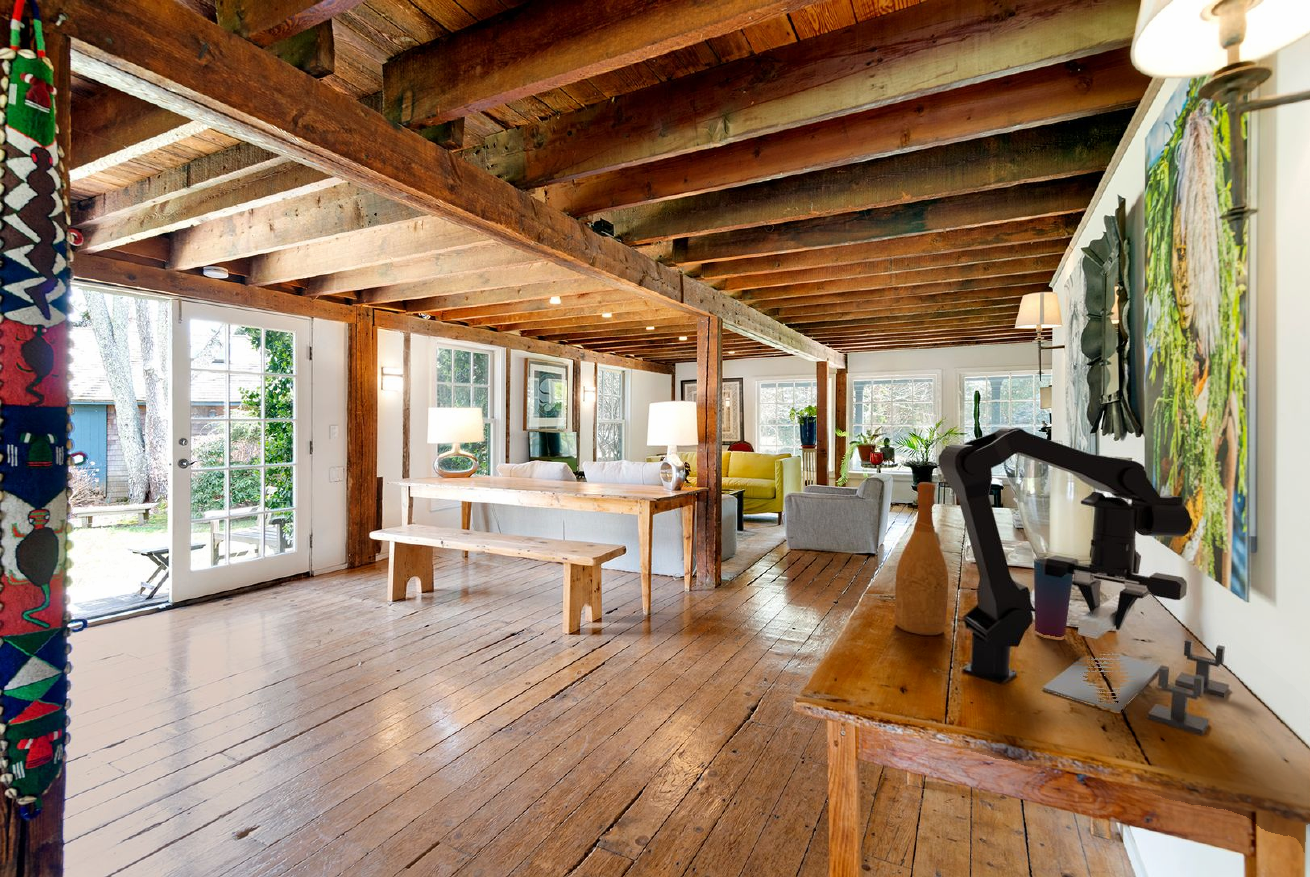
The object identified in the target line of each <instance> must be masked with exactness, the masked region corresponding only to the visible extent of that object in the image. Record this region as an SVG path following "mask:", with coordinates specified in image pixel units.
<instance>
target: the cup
mask: <svg viewBox="0 0 1310 877" xmlns="http://www.w3.org/2000/svg"><path fill="white" fill-rule="evenodd" d="M1047 558H1048V557H1043V558H1042V557H1039V558H1038V557H1037V558H1034V559H1033V580H1034V581H1033V586H1034V587H1033V588H1034V589H1033V590H1034V591H1033V592H1034V597H1033V598H1034V609H1035V610H1036V611H1035V612H1034V632H1035V631H1037V632H1039V633H1041V634H1043V635H1050V636H1055V637H1062V636H1064V635H1065V636H1066V630H1067V624H1068V622H1067V621H1068V617H1069V610H1070V609H1069V608H1070V607H1069V606H1070V601H1071V600H1070V599H1071V593H1072V586H1073V585H1072V581H1073V580H1074V574H1069V573H1068V574H1067V575H1066V576H1064V577H1062V578H1060V577H1055V576H1050V575H1045V574H1043V573H1042V570H1043V563H1044V560H1046V559H1047Z"/></svg>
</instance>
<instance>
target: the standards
mask: <svg viewBox="0 0 1310 877" xmlns="http://www.w3.org/2000/svg"><path fill="white" fill-rule="evenodd" d="M1183 649H1184V650H1183V656H1184V657H1186V660H1189V661H1193V662H1196V664H1195V665H1196V667H1195V675H1193V674H1189V673H1186V672H1183V671H1182V672H1180V673H1179V675H1178V676H1177V677H1176V678H1175V680H1174V685H1173V684H1169V673H1170V667H1169V666H1165V665H1162V666H1161V667H1160V668H1159V671H1158V680H1157V686H1158V687H1161V691H1163V692H1164V691H1165V692H1168V693H1171V705H1170V707H1169V706H1165V705H1162V704H1158V703H1155V704H1154V706H1153V707H1152V708H1151V710H1150V711H1149V712H1147V719H1148V720H1151V721H1154V722H1157V723H1160V724H1164V725H1167V726H1170V727H1172V728H1176V729H1180V730H1183V731H1186V732H1189V733H1191V734H1196V735H1198V736H1204V734H1205V732H1206V730H1207V728H1208V727H1209V725H1210V719H1209V718H1206V717H1202V716H1199V715H1195V714H1193V713H1192V714H1191V713H1189V712H1187V708H1188V699H1192V700H1198V699H1199V698H1201V697H1202V696H1203V695H1204V694H1209V695H1211V696H1212V695H1213V696H1216V697H1218V698H1223V699H1225V697H1226V695H1227V693H1228V691H1229V690H1230V689H1229V688H1230V684H1229V683H1224V682H1220V681H1217V680H1213V679H1210V674H1211V673H1210V672H1211V671H1210V669H1211V666H1213V667H1217V668H1219V667H1220V666H1221V665H1223V664H1224V663H1225V649H1226V647H1225V646H1224V645H1218V644H1217V646H1216V649H1215V659H1214V658H1209V657H1205V656H1201V655H1197V654H1193V653H1194V652H1193V650H1194V639H1192V638H1188V637H1187V638H1186V639H1184V646H1183Z"/></svg>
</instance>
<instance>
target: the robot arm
mask: <svg viewBox="0 0 1310 877" xmlns="http://www.w3.org/2000/svg"><path fill="white" fill-rule="evenodd" d="M1013 455H1018V456H1021V457H1024V458H1026V459H1029V460H1032V461H1035V462H1037V463H1041V464H1044V465H1047V466H1049V467H1052V468H1055V469H1059V470H1061V471H1064V472H1067V473H1070V474H1071V475H1073V476H1076V478H1077V479H1079V480H1080V481H1081V482H1083V483H1085V484H1087V485H1088V486H1090V487H1091V488H1094V489H1096V490H1097V491H1092V492H1091V494H1089V495H1088V496H1087V497H1085V498H1082V500H1080V504H1081V505H1084V506H1089V507H1093V509H1094V510H1093V524H1092V539H1090V550H1089V558H1090V563H1089V565H1084V564H1079V561H1078V560H1079V559H1078V558H1074V557H1066V556H1061V555H1057V554H1055V555H1053V556H1050V557H1046V558H1047V559H1046V560H1044V563H1043V570H1042V573H1043V574H1045V575H1050V576H1055V577H1060V578H1062V577H1064V576H1066V575H1067V574H1068V573H1069V574H1073V580H1072V586H1076V587H1077V588H1078V589H1079V591H1080V593H1081V595H1082V597H1083V598H1084V601H1085V602H1086V605H1087V607H1088V610H1089V612H1090V611H1092V610H1094V609H1095V608H1097V607H1099V606H1100V605H1101V597H1100V594H1101V592H1100V590H1101V586H1102V585H1101V584H1102V580H1103V581H1107V582H1113V583H1118V584H1123V585H1124V587H1125V588H1124V589H1122V590H1120V591H1119V594H1118V595H1119V602H1118V608H1117V615H1116V626H1115V630H1116V631H1119V630H1120V629H1121V628H1122V626H1123V624H1124V622H1125V620H1126V619H1127V618H1126V616H1127V614H1128V612H1129V610H1130V609H1131V607H1132V605H1133V604H1134V603H1135V604H1136V602H1137V600H1138V599H1144V598H1145V597H1147V596H1149V595H1150V594H1151V595H1152V596H1153V597H1158V598H1163V599H1169V600H1173V601H1180V600H1182V599H1183V598H1184V597H1186V596H1187V589H1188V582H1187V581H1186V579H1185V578H1184V577H1182V576H1178V575H1172V574H1166V573H1162V572H1155V573H1153V574H1151V575H1150V576H1145V575H1140V574H1139V573H1140V566H1141V560H1142V555H1141V554H1140V553H1139V552H1138V551H1137V550H1136V536H1137V534H1138V535H1140V536H1144V537H1146V536H1147V537H1163V538H1165V537H1169V538H1182V537H1185V536H1186V535H1187V534H1189V532H1190V531H1191V528H1192V526H1193V525H1192V524H1193V519H1192V518H1191V514H1190V512H1189V510H1188V509H1187V508H1188V507H1186V506H1185V505H1184V504H1183V497H1182V496H1178V495H1177V496H1176V495H1167V494H1166V495H1161V496H1160V494H1159V493H1158V491H1157V490H1156V488H1155V487H1154V486H1153V484H1152V482H1151V481H1150V479H1149V478H1148V476H1147V472H1146V470H1145V469H1146V467H1145V466H1144V465H1143V464H1141V463H1140V462H1138V461H1135V460H1129V459H1123V458H1117V457H1110V456H1103V455H1098V454H1097V455H1096V454H1091V453H1088V452H1085V451H1082V450H1079V449H1076V448H1073V447H1071V446H1067V445H1065V444H1061V443H1060V442H1059V443H1058V442H1056V441H1053V440H1050V439H1047V438H1045V437H1042V436H1039V435H1035V434H1033V433H1030V432H1027V431H1026V430H1024V429H1023V428H1018V427H1001V428H999V429H998V430H995V431H994V432H992V433H989V434H986V435H983V436H981V437H978V438H974V439H972V440H968V441H966V442H965V443H962V444H961V443H953V444H950V445H948V446H945V447H944V448H943V450H941V453H940V454H939V455H938V459H937V460H938V461H937V462H938V466H939V469H940V471H941V473H942V475H943V478H944V480H945V481H946V484H947V485H948V486H949V488H951V491H952V492H953V493H954V494H955V496H956V498H957V500H958V502H959V506H960V509H961V513H962V516H963V520H964V524H965V527H966V528H965V529H966V532H967V536H968V538H969V543H970V546H971V549H972V555H973V557H974V561H975V565H976V568H977V572H978V575H979V580H978V584H977V589H976V597H977V599H976V600H977V604H976V605H974V607H972V608H971V609H970V610H969V611H968V612H966V613H965V615H962V616H963V617H962V620H963V623H964V626H965V629H968V630H969V631H971V632H972V634H971V646H970V647H971V649H970V650H971V651H970V652H971V653H970V663H968V664H966V665H965V666H962V669H961V670H962V672H965V673H967V674H970V675H974V676H978V677H979V678H983V679H986V680H989V681H992V682H994V683H999V684H1004V683H1006V682H1008V681H1009V680H1011V679H1012V678H1014V677H1016V675H1017V674H1018V673H1017V671H1016V670H1014V669H1011V668H1010V660H1011V657H1010V656H1011V647H1015V648H1017V647H1019V646H1020V644H1021V641H1022V640H1023V637H1024V635H1025V633H1026V632H1027V630H1028V629H1029V628H1030V625H1032V624H1033V621H1034V615H1033V613H1035V611H1036V610H1035V606H1034V605H1033V604H1032V600H1031V592H1030V589H1029V587H1028V586H1026V585H1023V584H1022V583H1020V582H1018V581H1016V580H1014V579H1013V578H1012V576H1011V573H1010V569H1009V564H1008V561H1007V559H1006V553H1005V551H1004V547H1003V543H1002V539H1001V535H1000V532H999V528H998V525H997V520H996V518H995V514H994V510H993V506H992V503H991V499H990V491H991V486H992V481H993V472H992V469H993V468H995V467H997V466H999V465H1001V464H1003V463H1005V462H1006V461H1007V460H1008V459H1010V458H1011V457H1012V456H1013ZM1098 491H1100V492H1098ZM1103 492H1104V493H1110V494H1111V495H1112V496H1105V495H1104V493H1103ZM1126 500H1131V503H1128V502H1127V501H1126ZM1136 533H1137V534H1136Z"/></svg>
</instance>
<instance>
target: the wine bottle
mask: <svg viewBox="0 0 1310 877" xmlns="http://www.w3.org/2000/svg"><path fill="white" fill-rule="evenodd" d="M916 489H917V498H916V504H917V505H918V506H917V516H916V521H915V523H914V527H913V532H912V534H911V536H910V538H909V540H907V543H906V545H905V547H904V549H903V550H902V552H901V554H900V558H899V560H898V564H897V566H896V567H897V568H896V573H895V586H894V622H895V625H896V626H897V627H898V628H900V629H901V630H903V631H906V632H908V633H912V634H915V635H921V636H937V635H941V634H942V633H943V632H944V631H945V629H946V621H947V614H948V613H947V611H948V600H949V599H948V597H949V596H948V595H949V572H948V567H947V564H946V560H945V556H944V553H943V551H942V549H941V546H942V544H941V538H940V534H939V532H938V531H935V526H934V522H933V521H934V520H933V506H935V492H936V485H935V484H934V483H933V482H929V481H928V482H927V481H926V482H925V481H921V482H919V483H918V484H917V487H916Z"/></svg>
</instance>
